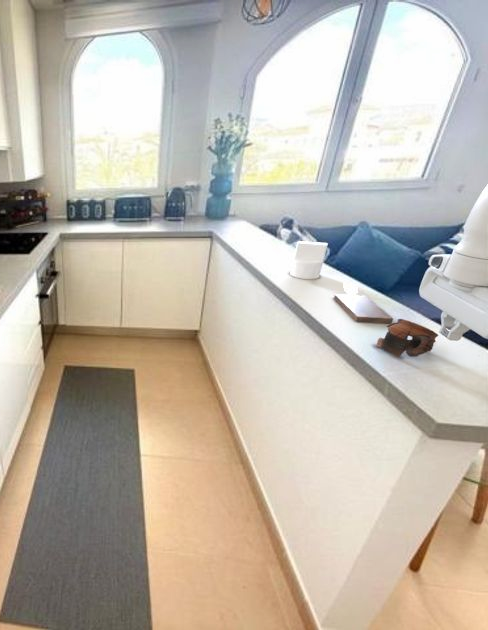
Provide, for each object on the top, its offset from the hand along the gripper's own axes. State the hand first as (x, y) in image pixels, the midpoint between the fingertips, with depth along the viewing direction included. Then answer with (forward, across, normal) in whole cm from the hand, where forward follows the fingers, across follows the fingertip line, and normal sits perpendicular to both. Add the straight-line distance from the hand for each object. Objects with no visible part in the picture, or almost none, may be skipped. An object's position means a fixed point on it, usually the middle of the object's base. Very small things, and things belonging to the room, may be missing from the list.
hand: (448, 336), depth 67 cm
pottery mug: (+10, +10, 0) cm, 14 cm away
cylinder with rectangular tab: (+10, +63, +6) cm, 64 cm away
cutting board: (+10, +33, 0) cm, 34 cm away
